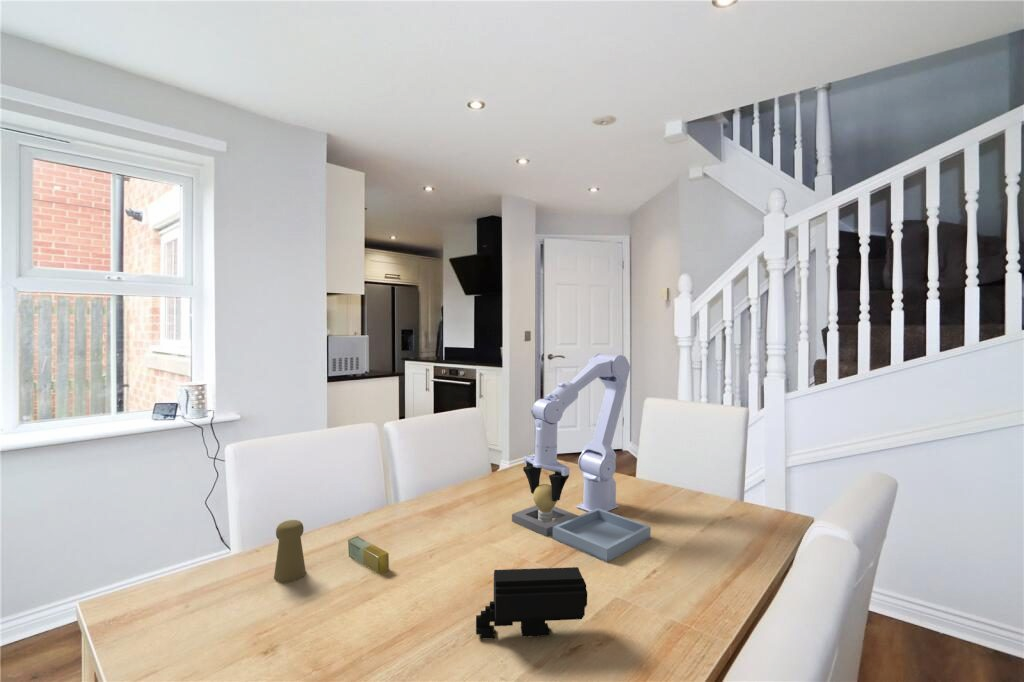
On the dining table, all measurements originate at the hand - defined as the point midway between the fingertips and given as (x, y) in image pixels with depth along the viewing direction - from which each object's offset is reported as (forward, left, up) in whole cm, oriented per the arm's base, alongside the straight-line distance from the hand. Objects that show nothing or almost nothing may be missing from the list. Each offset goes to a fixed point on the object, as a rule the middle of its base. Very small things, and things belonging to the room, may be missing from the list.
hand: (545, 496), depth 129 cm
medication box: (+45, -11, -7) cm, 47 cm away
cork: (+59, -17, -7) cm, 62 cm away
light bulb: (0, 0, -7) cm, 7 cm away
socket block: (0, 0, -7) cm, 7 cm away
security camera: (+36, +30, -7) cm, 47 cm away
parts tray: (-3, +16, -7) cm, 18 cm away
